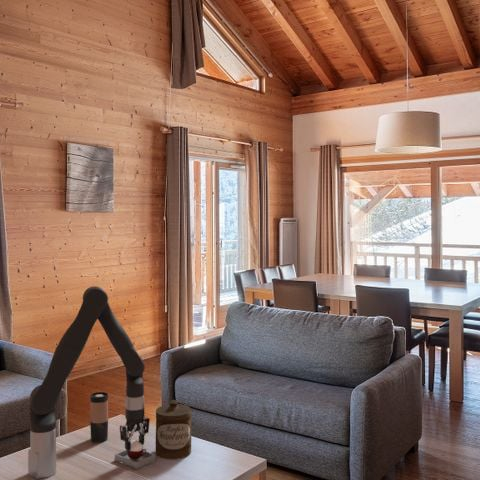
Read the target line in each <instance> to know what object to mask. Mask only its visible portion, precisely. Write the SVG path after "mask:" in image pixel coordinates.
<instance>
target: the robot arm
mask: <svg viewBox="0 0 480 480" xmlns="http://www.w3.org/2000/svg"><path fill="white" fill-rule="evenodd" d="M108 297H109V296H108V293H107V292H106V291H105V290H104V289H103V288H101V287H99V286H90V287H88V288H87V289H86V290H84V292H83V295H82V303H81V306H80V308H79V310H78V312H77V315H76V317H75V318H74V320H73V322H71V324H70V325H69V327H68V328H67V329H66V331H65V332H64V333H63V335H62V337H61V338H60V340H59V342H58V344H57V346H56V348H55V350H54V353H53V354H52V357H51V361H50V363H49V367H48V371H47V373H46V375H45V377H44V380H43V381H42V383H40V385H37V386H35V387H34V388H33V389H32V391H31V393H30V395H29V427H30V428H29V429H30V430H29V431H30V435H29V436H30V439H29V440H30V442H29V443H30V445H29V447H30V448H29V449H28V452H27V455H28V456H27V459H28V461H27V467H28V468H27V469H28V470H27V471H28V473H27V474H28V475H29V476H30V477H32V478H34V479H36V480H39V479H45V478H49V477H51V476H53V475H55V474H56V472H57V418H56V405H57V402H58V399H59V397H60V394H61V392H62V389H63V387H64V385H65V383H66V381H67V379H68V377H69V376H70V374H71V373H72V370H73V369H74V367H75V365H76V363H77V362H78V360H79V358H80V356H81V354H82V352H83V350H84V349H85V346H86V343H88V340H89V337H90V335H91V332H92V330H93V328H94V326H95V323H97V321H98V322H99V323H100V326H101V327H102V329H103V331H104V332H105V334H106V337H107V338H108V340H109V342H110V344H111V345H112V348H113V349H114V350H115V352H116V354H117V355H118V357H119V358H120V360H121V362H122V364H123V366H124V368H125V375H126V384H125V385H126V387H125V402H124V403H125V409H124V410H125V415H124V416H125V417H124V418H125V420H126V423H125V424H124V425H123V424H122V425H120V426H119V433H120V434H119V437H120V441H123V442H124V448H125V450H128V451H129V450H131V441H132V437H133V436H134V434H135V433H136V432H138V434H139V435H138V441H139V442H140V443H141V444H142V445H143V446H144V444H145V436H146V435H147V434H149V431H150V430H149V429H150V421H151V420H150V418H149V417H145V405H146V404H145V401H146V400H145V383H144V380H143V379H144V378H143V377H144V375H143V374H144V372H145V368H146V366H145V362H144V360H143V359H142V357H141V356H140V355H139V353H138V352H137V350H136V349H135V346H134V344H133V342H132V340H131V339H130V337H129V335H128V333H127V332H126V330H125V328H123V326H122V324H121V323H120V321H119V320H118V318H117V317H116V316H115V314H114V312H113V311H112V308H111V306H110V303H109V298H108Z"/></svg>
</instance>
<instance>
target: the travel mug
mask: <svg viewBox="0 0 480 480" xmlns="http://www.w3.org/2000/svg"><path fill="white" fill-rule="evenodd" d="M89 396H90V399H89V401H90V404H89V409H90V410H89V411H90V412H89V413H90V415H89V416H90V417H89V420H90V422H89V423H90V424H89V425H90V427H89V428H90V441H91V442H92V443H95V442H101V443H104V441H105V442H106V441H107V440H108V439H109V438H108V437H109V394H108V393H107V392H106V391H105V392H104V391H98V392H97V391H95V392H93V393H90V395H89Z"/></svg>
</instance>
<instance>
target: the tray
mask: <svg viewBox="0 0 480 480" xmlns="http://www.w3.org/2000/svg"><path fill="white" fill-rule="evenodd" d="M144 453H145V450H143V453H142V454H144ZM115 460H116V461H115ZM114 461H115V462H117V461H119V462H118V463H120V462H122V463H123V464H122V463H121V464H122V465H124V464H126V465H125V466H127V465H128V466H127V467H129V466H130V467H129V468H131V467H132V469H134V470H136V469H137V470H139V469H141V468H143V467H145V465H146V466H148V465H150V464H152V463H154V462H156V454H155V453H152V452H149V451H146V453H145V454H144V455H143V456H141V457H140V458H139V459H130V458H129V457H128V454H127V450H126V449H125V450H122V451H120V452H116V453H115V454H114ZM147 464H148V465H147ZM138 468H139V469H138Z"/></svg>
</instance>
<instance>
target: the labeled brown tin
mask: <svg viewBox="0 0 480 480" xmlns="http://www.w3.org/2000/svg"><path fill="white" fill-rule="evenodd" d="M191 453H192V408H191V407H190V406H189V405H185V404H181V403H178V401H177V400H176V399H172V400H170V401H169V403H168V404H163V405H161V406H158V407H157V408H156V409H155V456H157V457H159V458H160V459H164V460H180V459H182V458H183V459H184V458H186V457H188V456H189V455H190V454H191Z"/></svg>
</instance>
